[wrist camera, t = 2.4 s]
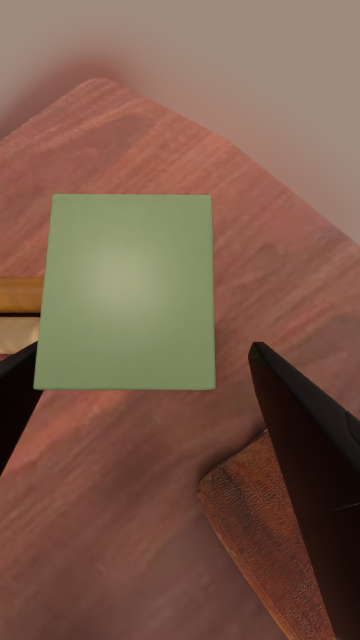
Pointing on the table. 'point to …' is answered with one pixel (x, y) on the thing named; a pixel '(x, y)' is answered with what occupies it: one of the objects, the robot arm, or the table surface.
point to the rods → (19, 298)
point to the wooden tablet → (265, 537)
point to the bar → (128, 294)
